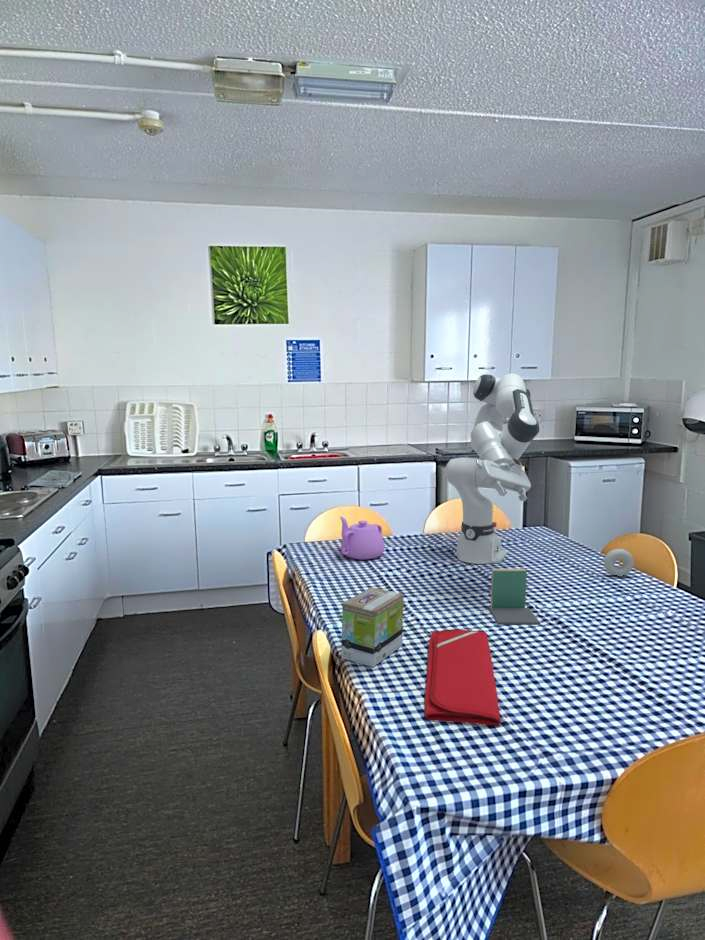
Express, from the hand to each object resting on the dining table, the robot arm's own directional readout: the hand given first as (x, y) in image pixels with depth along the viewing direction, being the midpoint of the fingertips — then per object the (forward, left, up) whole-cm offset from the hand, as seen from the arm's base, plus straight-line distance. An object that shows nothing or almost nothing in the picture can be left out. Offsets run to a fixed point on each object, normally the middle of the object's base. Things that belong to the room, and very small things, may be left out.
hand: (513, 497), depth 193 cm
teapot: (-12, -68, -33) cm, 77 cm away
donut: (-45, +21, -33) cm, 60 cm away
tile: (+6, +2, -33) cm, 34 cm away
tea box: (+56, -13, -33) cm, 67 cm away
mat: (+12, +7, -33) cm, 36 cm away
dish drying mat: (+54, +11, -34) cm, 65 cm away
